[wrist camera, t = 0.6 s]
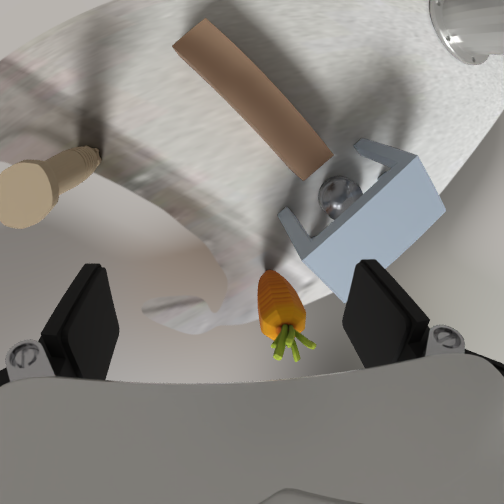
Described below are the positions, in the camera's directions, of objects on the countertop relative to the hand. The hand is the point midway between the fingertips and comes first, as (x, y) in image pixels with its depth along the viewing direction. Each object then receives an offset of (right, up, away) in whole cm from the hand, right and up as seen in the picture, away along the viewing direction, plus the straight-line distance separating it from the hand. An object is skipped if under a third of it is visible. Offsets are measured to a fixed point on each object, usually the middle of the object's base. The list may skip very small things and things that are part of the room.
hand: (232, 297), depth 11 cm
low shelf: (+11, +8, +25) cm, 29 cm away
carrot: (+3, -1, +29) cm, 29 cm away
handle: (-18, +12, +20) cm, 29 cm away
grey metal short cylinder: (+11, +9, +25) cm, 29 cm away
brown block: (+1, +18, +19) cm, 26 cm away
